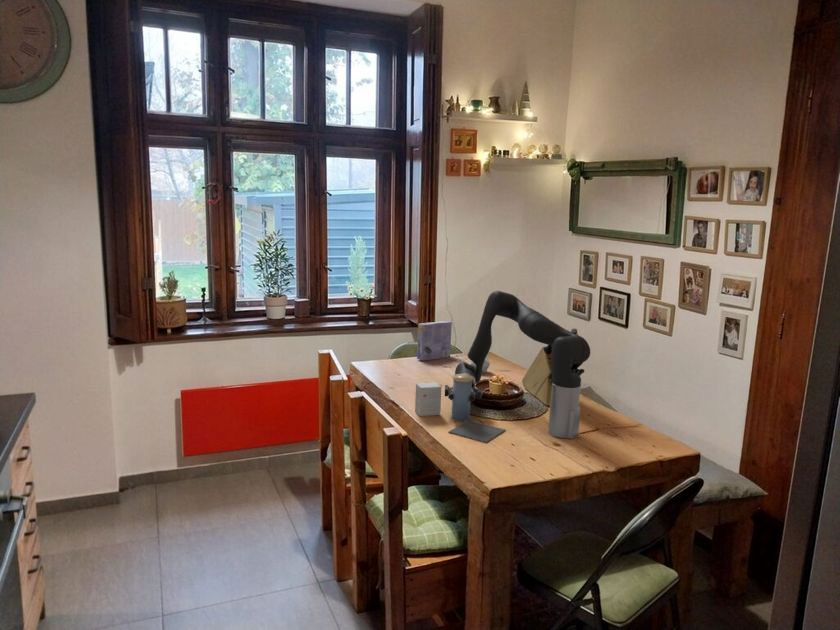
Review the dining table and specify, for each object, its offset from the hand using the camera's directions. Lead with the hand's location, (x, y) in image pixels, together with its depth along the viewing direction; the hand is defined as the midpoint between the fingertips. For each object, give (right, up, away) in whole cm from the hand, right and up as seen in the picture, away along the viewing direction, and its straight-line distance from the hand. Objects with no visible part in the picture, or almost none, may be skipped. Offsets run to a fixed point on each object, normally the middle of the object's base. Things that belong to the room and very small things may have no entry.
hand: (461, 398), depth 218 cm
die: (+13, +3, +65) cm, 67 cm away
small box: (-12, -7, +8) cm, 15 cm away
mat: (+5, -10, -9) cm, 14 cm away
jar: (0, -8, +4) cm, 8 cm away
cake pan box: (-7, +8, +87) cm, 88 cm away
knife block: (+37, -5, +30) cm, 48 cm away
